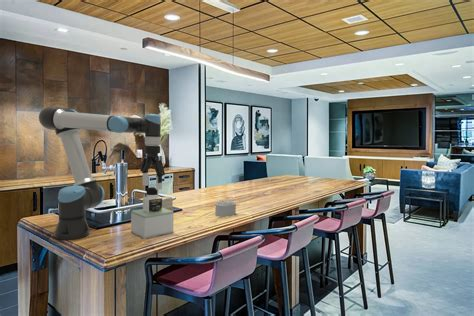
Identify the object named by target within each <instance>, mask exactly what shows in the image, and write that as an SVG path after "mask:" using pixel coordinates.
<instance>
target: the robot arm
mask: <svg viewBox="0 0 474 316" xmlns="http://www.w3.org/2000/svg"><path fill="white" fill-rule="evenodd" d="M38 121H39V124H40V125H41V126H42V127H43V128H45V129H46V130H51V131H54V132H55V135H56V137H58V138H60V139H61V144H62V146H63V150H64V153H65V155H66V159H67V162H68V165H69V168H70V171H71V174H72V178H73V180H74V183H73V185H70V186H69V185H68V186H65V187H63V188H61V189H59V191H58V196H57V201H58V221H57V224H56V228H55V231H54V238H55V239H57V240H61V241H64V240H65V241H68V240H77V239H78V240H79V239H82V238H85V237H87V236H88V237H89V235H90V227H89V225H88V222H87V219H86V210H89V209H93V208H96V207H97V206H99V205H101V203H102V202H103V201H104V199H105V193H106V192H105V190H104V187H102V185H100V184H99V183H98V180H97V179H96V178H94V177H93V176H92V172H91V170H90V167H89V163H88V161H87V156H86V154H85V151H84V148H83V144H82V141H81V138H80V135H79V134H80V132H81V130H91V131H101V132H110V133H117V134H121V133H126V134H127V133H128V134H131V133H132V134H144V145H145V146H144V153H143V156H142V157H143V159H142V161H141V166H140V170H139V171H140V172H141V173H142V187H146V186H148V187H149V169H150V167H151V166H153V169H154V171H155V173H156V176H155V187H156V190H159V191H160V190H162V189H163V188H162V187H163V176H165V175H166V173H165V167H164V164H163V160H162V159H163V156H162V155H159V154H160V153H161V146H160V145H161V140H162V139H161V128H162V121H161V115H160V114H158V113H157V114H155V113H146V114H145V117H131V116H123V115H109V114H100V113H99V114H98V113H89V112H88V113H87V112H78V111H76V110H75V109H74V108H73V109H72V108H69V107H60V106H46V107H44V108H42V109H41V111H39V114H38Z"/></svg>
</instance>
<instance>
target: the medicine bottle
mask: <svg viewBox="0 0 474 316" xmlns="http://www.w3.org/2000/svg"><path fill="white" fill-rule="evenodd" d="M145 192H146V194H145V195H146V196H143V197H142V209H143V211H145V212H147V213H155V212H161V211H162V197H161V196H160V194H159V193H160V190H156V186H153V187H152V186H151V187H149V186H148V187H147V188H146V190H145Z"/></svg>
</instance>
